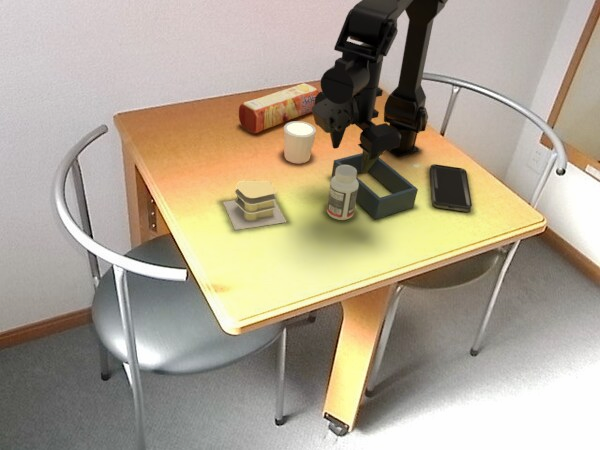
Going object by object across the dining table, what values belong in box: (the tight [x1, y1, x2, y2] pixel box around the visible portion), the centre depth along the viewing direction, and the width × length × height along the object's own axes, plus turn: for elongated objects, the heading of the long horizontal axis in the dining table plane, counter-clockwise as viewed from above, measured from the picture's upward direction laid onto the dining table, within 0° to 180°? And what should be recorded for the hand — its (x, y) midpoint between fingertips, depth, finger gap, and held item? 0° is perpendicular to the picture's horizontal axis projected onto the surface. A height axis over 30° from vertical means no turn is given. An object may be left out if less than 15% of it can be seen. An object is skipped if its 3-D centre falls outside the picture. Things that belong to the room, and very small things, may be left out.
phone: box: [429, 163, 473, 213], centre depth 129 cm, size 8×1×15 cm
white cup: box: [283, 120, 317, 165], centre depth 133 cm, size 7×7×7 cm
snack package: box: [238, 82, 320, 134], centre depth 146 cm, size 21×7×7 cm, turn 135°
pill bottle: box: [326, 165, 359, 221], centre depth 117 cm, size 5×5×10 cm
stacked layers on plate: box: [222, 179, 287, 231], centre depth 116 cm, size 10×9×6 cm
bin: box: [330, 152, 419, 220], centre depth 125 cm, size 10×16×4 cm, turn 32°
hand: (349, 159), depth 114 cm, fingers open, 9 cm apart
